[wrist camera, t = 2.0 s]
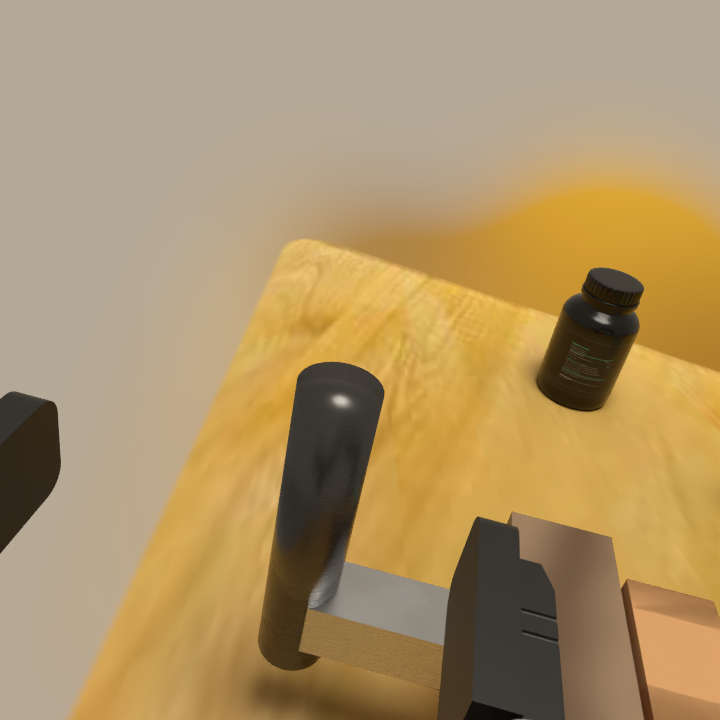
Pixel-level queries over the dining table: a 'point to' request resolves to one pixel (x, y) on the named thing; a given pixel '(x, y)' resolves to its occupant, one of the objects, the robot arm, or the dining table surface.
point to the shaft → (340, 546)
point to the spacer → (674, 652)
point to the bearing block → (585, 618)
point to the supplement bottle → (591, 340)
